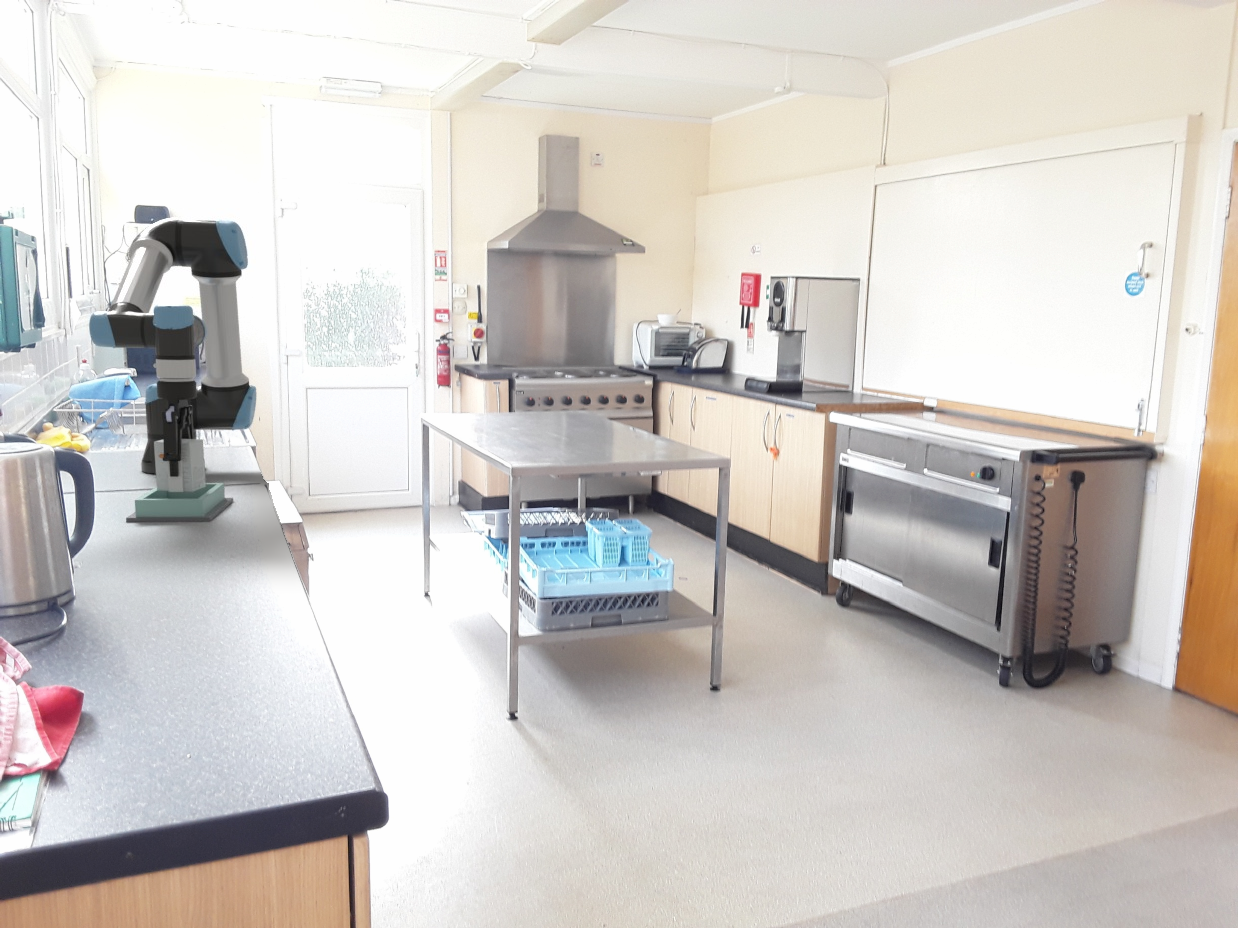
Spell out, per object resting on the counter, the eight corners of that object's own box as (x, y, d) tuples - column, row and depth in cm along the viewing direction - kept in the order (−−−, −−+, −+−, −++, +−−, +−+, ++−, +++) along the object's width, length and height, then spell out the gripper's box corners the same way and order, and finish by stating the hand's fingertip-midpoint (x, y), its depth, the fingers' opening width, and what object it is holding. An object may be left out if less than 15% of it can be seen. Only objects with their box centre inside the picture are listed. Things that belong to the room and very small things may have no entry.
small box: (206, 487, 203) (204, 439, 201) (192, 492, 198) (190, 442, 196) (170, 485, 204) (168, 437, 202) (155, 490, 198) (153, 441, 197)
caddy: (157, 501, 210) (156, 482, 209) (233, 501, 212) (232, 482, 212) (126, 521, 190) (125, 500, 190) (210, 521, 193) (209, 500, 192)
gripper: (171, 376, 206) (176, 480, 209) (141, 383, 187) (147, 497, 190) (207, 376, 207) (211, 480, 211) (182, 383, 188) (187, 497, 192)
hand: (181, 488), depth 201 cm, fingers closed on small box, 6 cm apart
